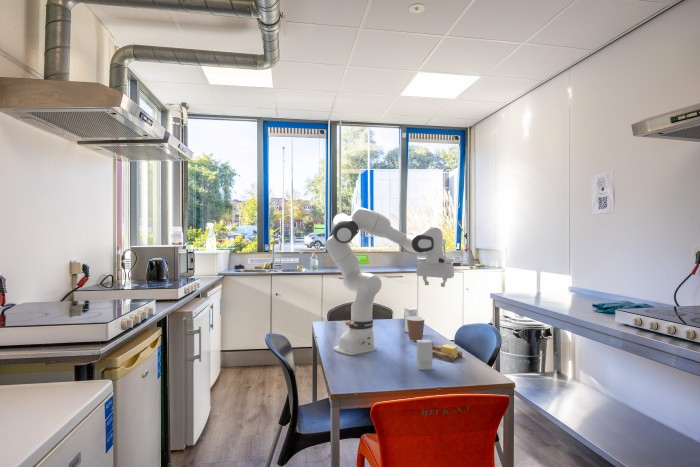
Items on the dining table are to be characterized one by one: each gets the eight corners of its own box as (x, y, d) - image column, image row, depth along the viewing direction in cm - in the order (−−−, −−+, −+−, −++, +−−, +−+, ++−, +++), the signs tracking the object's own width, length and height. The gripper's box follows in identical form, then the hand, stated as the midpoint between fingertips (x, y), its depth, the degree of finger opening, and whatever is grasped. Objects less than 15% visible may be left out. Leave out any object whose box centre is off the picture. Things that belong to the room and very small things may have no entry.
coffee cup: (424, 342, 200) (425, 320, 200) (405, 341, 202) (406, 319, 202) (424, 337, 210) (425, 316, 210) (406, 336, 212) (406, 315, 212)
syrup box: (411, 330, 227) (412, 306, 227) (416, 332, 221) (417, 308, 222) (403, 331, 225) (403, 307, 225) (408, 333, 219) (408, 309, 219)
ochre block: (457, 357, 175) (457, 346, 175) (452, 359, 172) (452, 348, 172) (446, 354, 179) (446, 344, 179) (440, 356, 176) (440, 346, 176)
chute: (462, 356, 176) (462, 350, 176) (451, 361, 169) (451, 355, 169) (431, 349, 188) (431, 343, 188) (419, 353, 181) (419, 347, 181)
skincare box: (429, 366, 163) (429, 339, 163) (432, 370, 158) (433, 342, 158) (416, 366, 162) (416, 339, 162) (419, 370, 158) (419, 342, 158)
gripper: (413, 258, 193) (414, 284, 193) (449, 260, 179) (449, 288, 179) (420, 257, 197) (420, 283, 197) (455, 259, 183) (455, 286, 183)
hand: (434, 285), depth 188 cm, fingers open, 8 cm apart
